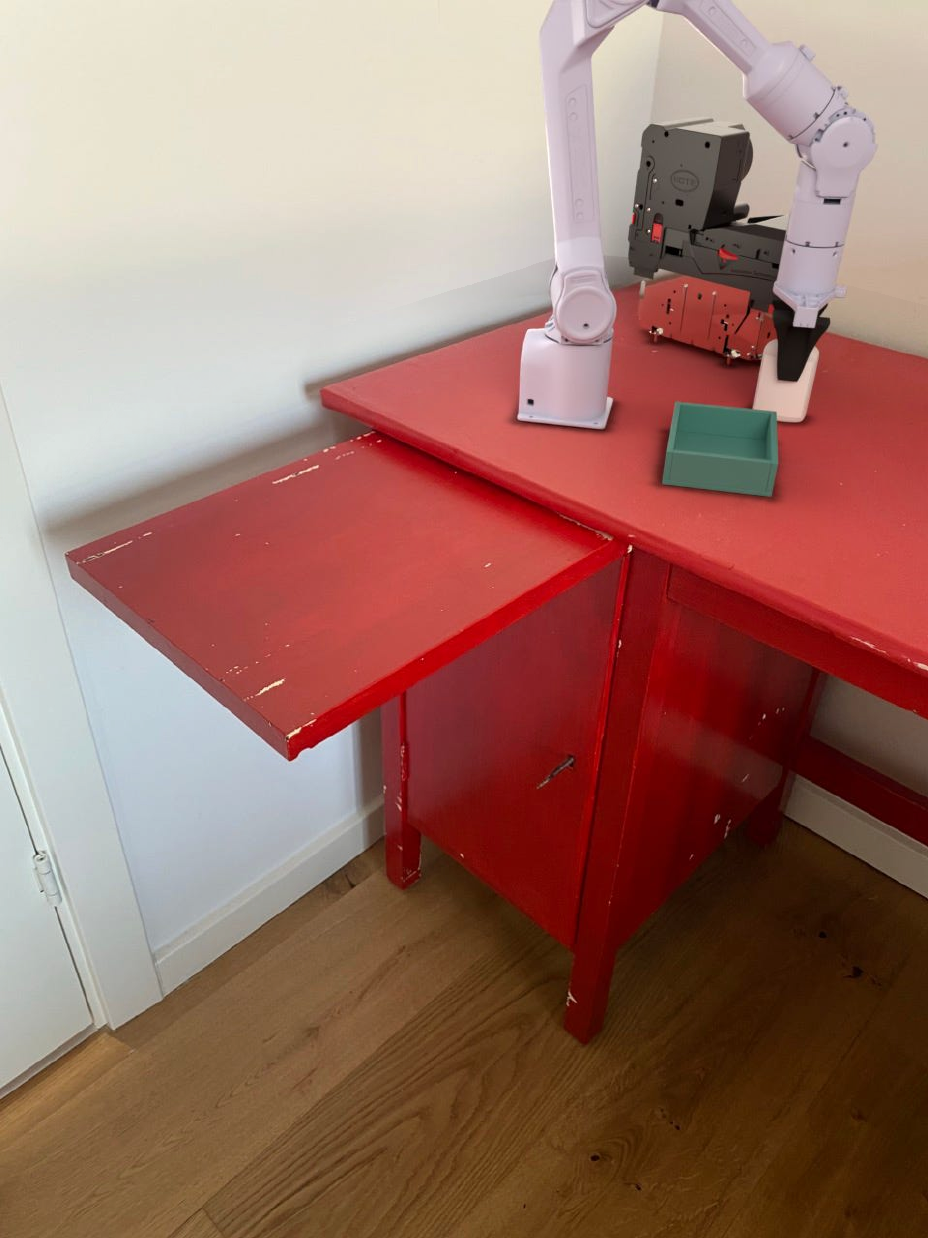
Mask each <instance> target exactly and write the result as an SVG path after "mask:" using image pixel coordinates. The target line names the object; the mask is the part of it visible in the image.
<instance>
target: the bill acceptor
mask: <svg viewBox="0 0 928 1238" xmlns="http://www.w3.org/2000/svg"><path fill="white" fill-rule="evenodd" d="M752 142H753V141H752V139H751V133H750V130H746V128H745V126H744V124H743V123H740V122H735V121H728V120H719V121H715V120H714V118H712V117H707V116H702V115H700V116H694V117H687V118H680V119H674V120H667V121H661V122H655V123H650V124H649V125H648V126H647V127H646V128H645V129H643V132H642V134H641V140H640V147H641V151H640V152H641V153H640V160H639V168H638V170H637V173H636V179H635V180H636V182H635V191H634V199H633V206H632V213H633V214H631V215H632V216H631V217H632V218H631V223H630V224H629V225H628V233H627V234H628V236H627V241H628V253H627V257H628V265H629V267H630V268H633V275H634V276H638V277H641V278H644V280H642V281H641V282H640V289H639V299H638V305H637V315H636V316H637V317H638V318H639V321H638V323H639V328H640V329H644V330H647V331H649V334H650V335H654V336H653V342H655V343H657V342H658V337H660V336H661V337H664V338H668V339H672V340H674V341H677V342H680V343H684V344H687V345H693V346H695V347H698V348H701V349H703V350H707V351H711V352H715V353H716V354H720V355H722V356H723V357H724V358H725V357H726V358H727V360H726V365H731V360H735V359H738V358H740V359H743V360H746V361H749V362H752V361H753V360H754V361H762V356H763V352H764V349H765V347H766V345H767V344H768V343H769V342H770V341H772V340H775V339H777V334H776V329H775V326H774V323H773V319H772V312H773V310H774V307H773V304H772V296H774V295H776V294H775V293H774V292H773V287H774V282H775V281H777V276H778V271H779V266H780V261H781V255H782V250H783V245H784V240H785V235H786V229H787V224H788V219H789V214H779V215H778V214H777V215H776V214H775V215H762V216H752V217H751V216H750V217H749V214H750V205H749V204H748V202H745V201H741V200H738V196H739V193H740V190H741V187H742V182H743V181H744V179H746V177H747V175H748V174H749V172H750V171H751V168H752V166H753V161H754V148H753V143H752ZM748 217H749V218H748ZM747 218H748V219H747ZM744 219H747V221H743V222H742V220H744ZM740 220H741V221H740Z"/></svg>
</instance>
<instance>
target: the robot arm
mask: <svg viewBox="0 0 928 1238" xmlns="http://www.w3.org/2000/svg"><path fill="white" fill-rule="evenodd" d="M644 6H646V7H648V8H650V9H653V10H654V11H656V12H657V11H658V12H662V13H667V14H671V15H672V14H673V15H679V16H681V18H683V19H684V20H685V21H686V23H688V24H689V25H690V26H691V27H693V29H694V30H695V31H697V33H699V34H700V35H701V36H702V37H703V38H704V39H705V40H706V41H707V42H708V43H709V44H710V45H712V46H713V47H714V48H715V49H716V50H717V51H718V52H719V53H720V55H722V56H723V57H724V58H725V59H727V60H728V61H729V62H730V63H731V64H732V65H733V66H734V67H735V68H736V69H737V70H738V71H739V72H740V73H741V75H742V97H743V99H744V100H745V102H747V104H749V106H751V107H752V108H753V109H754V110H755V111H756V112H757V113H758V114H759V115H760V116H761V117H762V118H763V119H764V120H765V121H766V122H767V123H768V124H769V125H770V126H771V127H772V128H773V129H774V130H775V131H776V132H777V133H778V134H780V136H781V137H782V138H783V139H784V140H785V141H786V142H787V143H788V144H790V145H793V146H794V149H795V150H794V151H795V153H796V155H797V157H798V158H800V159H803V160H804V161H803V160H800V162H799V166H798V171H797V175H796V176H797V177H796V182H795V186H794V189H793V194H792V199H791V203H790V208H789V214H788V215H789V219H788V224H787V229H786V235H785V240H784V245H783V250H782V255H781V261H780V266H779V271H778V276H777V281H775V282H774V287H773V292H774V293H775V294H776V295H774V296H772V304H773V307H774V310H773V312H772V319H773V323H774V326H775V329H776V334H777V341H778V353H777V377H778V380H782V381H793V382H798V380H799V378H800V376H801V374H802V372H803V370H804V368H805V365H806V363H807V361H808V358H809V356H810V354H811V352H812V350H813V348H814V346H815V347H816V344H817V343H818V342H819V340H820V339H821V338H822V336H823V335H824V334H825V333H826V331H827V330H828V329H829V327H830V325H831V318H830V317H828V316H821V315H822V314H823V313H824V312H825V310H827V308H828V306H829V303H830V302H831V301H832V300H834V299H836V298H837V299H844V298H846V296H847V293H848V292H847V287H846V286H844V285H838V284H837V280H838V275H839V271H840V266H841V262H842V257H843V254H844V248H845V244H846V240H847V236H848V231H849V226H850V222H851V217H852V213H853V208H854V204H855V199H856V195H857V188H858V183H859V180H860V175H861V173H862V172H863V171H864V170H865V169H866V168H867V167H868V166H869V164H870V163H871V162H872V160H873V159H874V157H875V155H876V153H877V150H878V145H879V144H878V143H876V142H875V140H876V132H874V129H875V127H874V126H875V125H874V123H873V121H872V120H871V118H870V117H869V116H868V115H867V114H866V113H864V111H861V110H859V109H857V108H855V107H853V106H851V105H850V103H849V102H848V101H846V100H847V98H848V96H850V91H849V90H848V89H847V87H845V86H844V85H843V84H838V85H837V86H835V84H834V83H832V81H831V80H830V79H829V78H828V77H827V76H826V75H825V74H824V73H823V72H822V71H821V70H820V69H819V68H818V67H817V65H815V64H814V62H813V60H814V58H815V57H816V53H815V52H814V51H813V50H812V49H811V48H810V47H809V46H808V45H807V44H804V43H803V44H800V46H799V47H798V46H797V45H796V44H795V43H794V42H793V41H791V40H786V41H779V42H772V43H771V42H769V41H768V40H767V38H765V36H764V35H762V33H761V32H760V31H759V30H758V29H757V28H756V26H755V25H754V24H753V23H752V22H751V21H750V20H749V19H748V18H747V17H746V16H745V14H744V13H743V12H742V11H741V10H740V8H738V6H737V5H736V4H735V3H734V2H733V1H732V0H552V3H551V5H550V7H549V9H548V11H547V12H546V13H547V14H545V15H546V16H545V18H544V20H543V21H542V24H541V26H540V30H539V33H538V34H539V35H538V53H539V62H540V63H539V64H540V65H539V66H540V75H541V87H542V88H541V89H542V99H543V101H542V102H543V112H544V125H545V126H544V127H545V136H546V137H545V138H546V149H547V151H546V152H547V160H548V161H547V163H548V174H549V184H550V185H549V187H550V198H551V199H550V200H551V211H552V221H553V222H552V223H553V235H554V237H553V238H554V267H553V270H552V273H551V275H550V277H549V282H548V295H549V298H550V300H551V304H552V315H551V316H550V317H549V318H548V321H546V322H545V324H544V327H543V328H528V329H527V330H526V332H525V335H524V339H523V341H522V349H521V350H522V351H521V357H520V373H519V374H520V375H519V399H518V414H517V420H518V421H520V422H530V423H538V424H547V425H548V424H549V425H557V426H567V427H575V428H585V429H593V430H594V429H595V430H604V429H605V428H606V426H607V422H608V420H609V416H610V413H611V410H612V407H613V403H614V399H613V398H612V397H610V396H608V391H609V382H610V370H611V361H612V352H613V351H612V350H613V342H614V331H615V330H614V327H613V326H614V323H615V320H616V318H617V312H618V309H617V308H618V307H617V301H616V298H615V296H614V293H613V292H612V291H611V288H610V285H609V278H608V275H607V272H606V267H605V259H604V250H603V243H602V233H601V232H602V231H601V229H602V228H601V214H600V195H599V178H598V177H599V176H598V159H597V157H598V156H597V140H596V123H595V121H596V120H595V104H594V85H593V68H592V57H593V55H594V53H595V52H596V51H597V50H598V48H599V47H600V46H601V45H602V43H603V42H604V41H605V40H606V39H607V37H608V36H609V35H610V33H611V32H612V31H613V30H614V29H615V26H616V25H618V24H619V23H621V21H623V20H625V19H626V18H628V17H629V16H631V15H632V14H634V13H636V11H638V10H640V9H641V8H642V7H644Z"/></svg>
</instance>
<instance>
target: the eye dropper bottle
mask: <svg viewBox="0 0 928 1238" xmlns="http://www.w3.org/2000/svg"><path fill="white" fill-rule="evenodd" d="M777 353H778V341H777V339H775V340H772V341H770V342H769V343H768V344H767V345H766V347H765V349H764V352H763V356H762V360H760V367H759V372H758V376H757V382H756V387H755V388H756V389H755V391H754V392H755V393H754V398H753V403H752V407H751V409H755V410H765V411H774V412H777V422H781V423H801V422H802V421H804V419H805V417H806V416H807V413H808V408H809V403H810V399H811V394H812V391H813V390H812V389H813V385H814V381H815V377H816V372H817V367H818V363H819V362H818V361H819V357H820V352H819V348H817V347H816V345H815V346H814V348H813V350H812V352H811V354H810V356H809V358H808V361H807V363H806V365H805V368H804V370H803V372H802V374H801V376H800V378H799V380H798V382H793V381H782V380H778V377H777Z"/></svg>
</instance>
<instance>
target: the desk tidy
mask: <svg viewBox="0 0 928 1238" xmlns="http://www.w3.org/2000/svg"><path fill="white" fill-rule="evenodd" d="M672 412H673V413H672V419H671V424H670V429H669V436H668V440H667V447H666V451H665V452H666V453H665V459H664V466H663V474H662V481H661V482H662V483H661V485H665V486H672V487H673V486H674V487H682V488H690V489H700V490H708V491H715V492H716V491H717V492H725V493H732V494H733V493H734V494H735V493H736V494H742V495H751V496H758V497H759V496H761V497H767V498H772V496H773V490H774V486H775V481H776V478H777V474H778V473H777V472H778V468H779V442H778V441H779V439H778V438H779V437H778V421H777V412H774V411H765V410H755V409H752V408H746V407H745V408H744V407H733V406H724V405H714V404H705V403H704V404H703V403H695V402H683V401H675V402H674V407H673V411H672Z"/></svg>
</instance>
